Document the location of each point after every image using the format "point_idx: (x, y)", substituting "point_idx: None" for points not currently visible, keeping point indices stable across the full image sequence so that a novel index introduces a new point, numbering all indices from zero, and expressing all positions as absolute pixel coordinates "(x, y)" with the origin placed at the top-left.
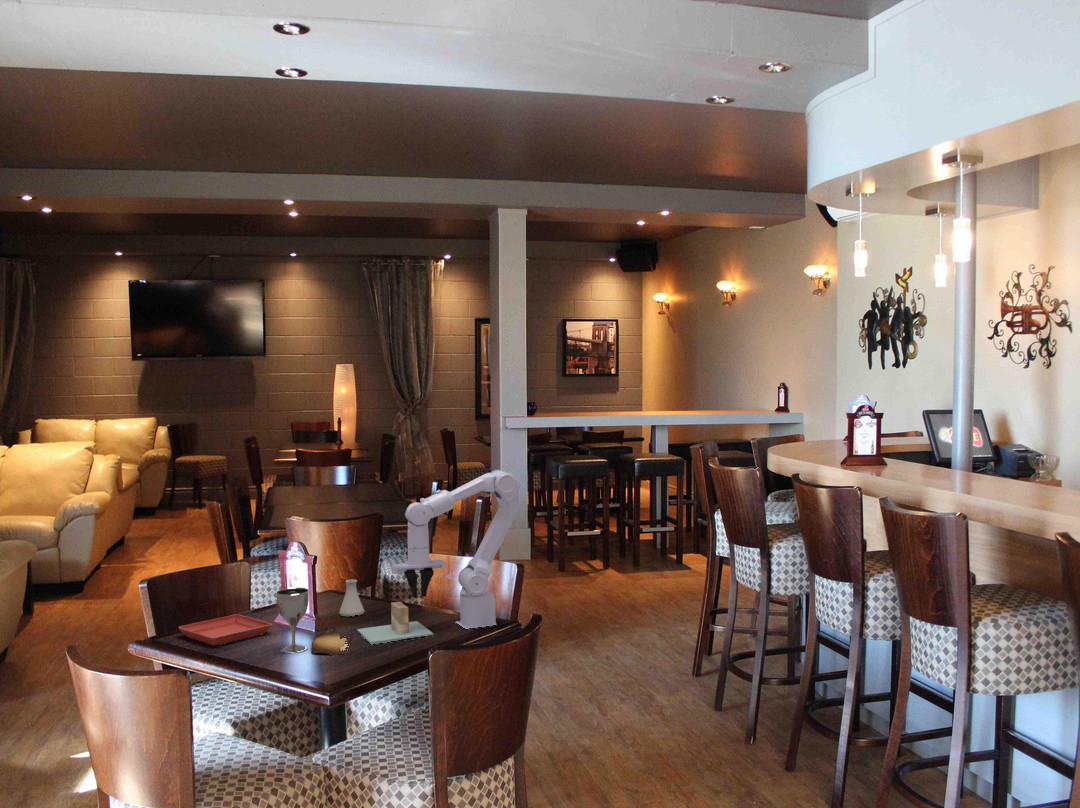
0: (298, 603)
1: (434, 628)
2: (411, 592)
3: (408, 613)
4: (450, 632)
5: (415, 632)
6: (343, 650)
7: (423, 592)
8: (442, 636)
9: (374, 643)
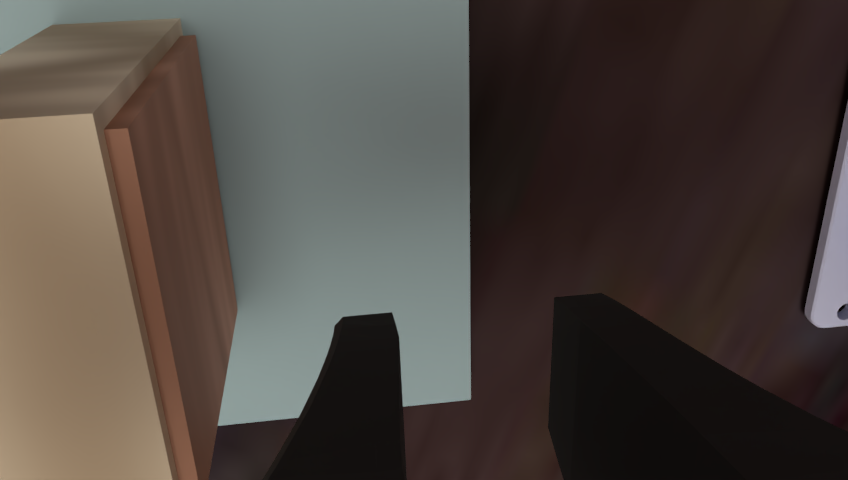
0: None
1: (580, 116)
2: (328, 351)
3: (210, 449)
4: (657, 319)
5: (310, 312)
6: None
7: (575, 467)
8: (539, 407)
9: None
